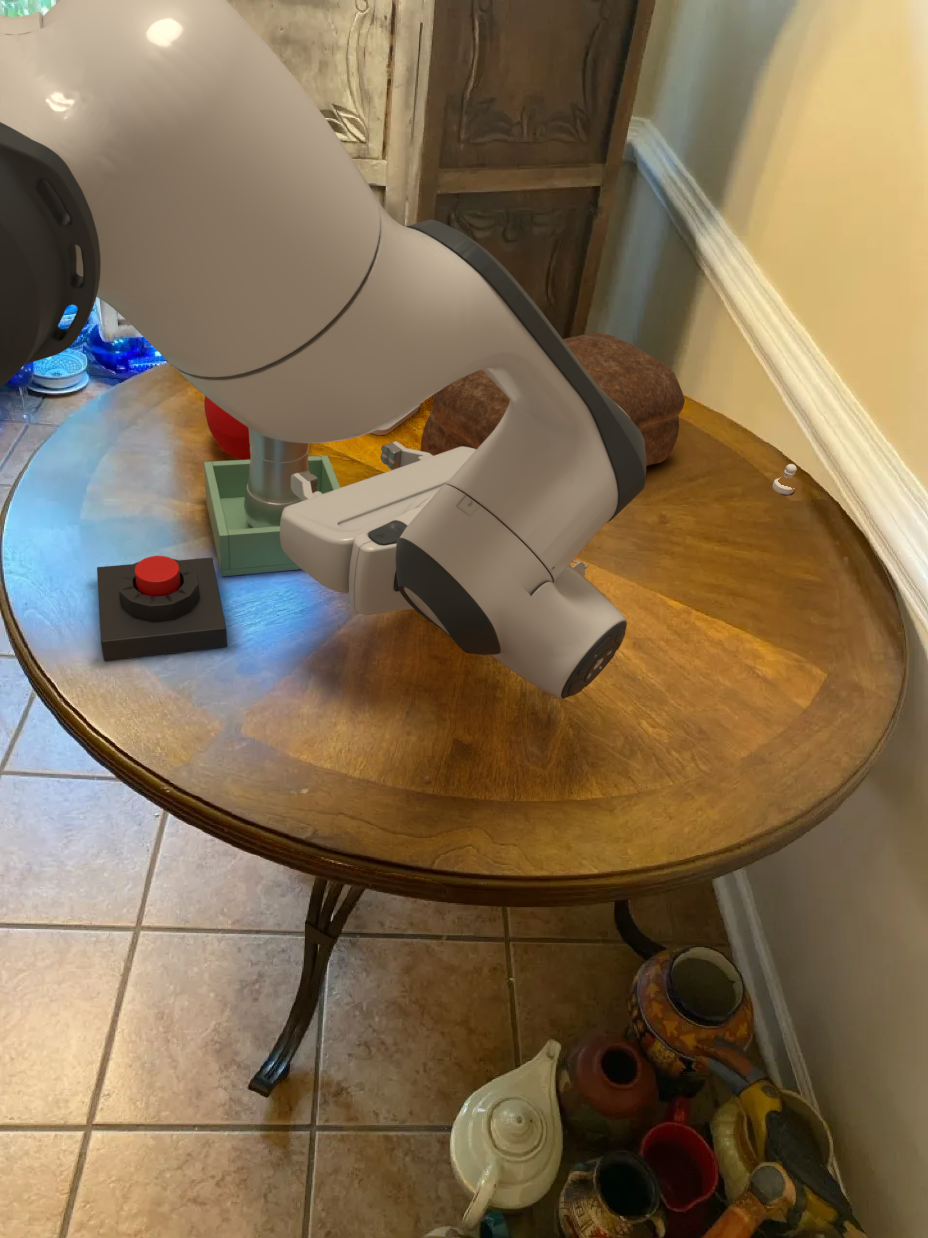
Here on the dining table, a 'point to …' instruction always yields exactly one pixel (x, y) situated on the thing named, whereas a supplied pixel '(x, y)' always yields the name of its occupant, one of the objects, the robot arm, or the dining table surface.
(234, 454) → the tomato
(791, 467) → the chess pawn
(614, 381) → the bread
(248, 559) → the tray
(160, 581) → the button
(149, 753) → the dining table surface
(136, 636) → the block
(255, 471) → the metal bottle
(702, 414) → the dining table surface
